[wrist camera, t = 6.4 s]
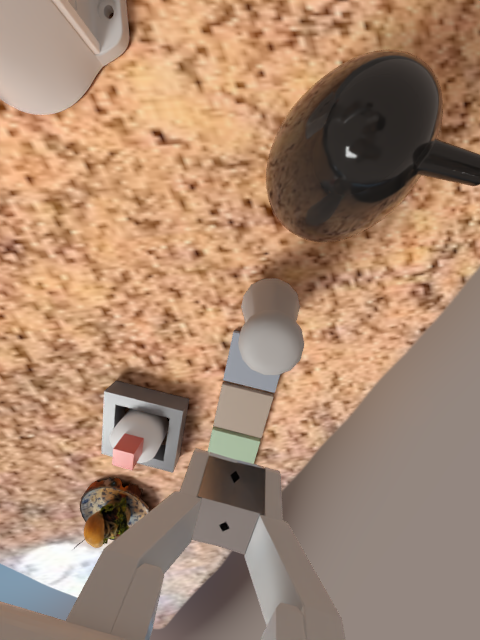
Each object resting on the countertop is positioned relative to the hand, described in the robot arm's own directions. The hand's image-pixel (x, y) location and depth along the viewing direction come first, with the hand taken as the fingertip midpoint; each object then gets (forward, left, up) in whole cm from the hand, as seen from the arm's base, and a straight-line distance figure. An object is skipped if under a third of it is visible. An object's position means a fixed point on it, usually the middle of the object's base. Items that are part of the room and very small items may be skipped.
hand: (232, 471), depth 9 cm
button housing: (+19, -11, -21) cm, 30 cm away
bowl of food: (+37, -14, -21) cm, 45 cm away
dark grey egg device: (-13, +3, -21) cm, 25 cm away
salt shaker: (-1, +1, -21) cm, 21 cm away
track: (+13, +1, -21) cm, 25 cm away
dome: (+19, -11, -20) cm, 30 cm away
